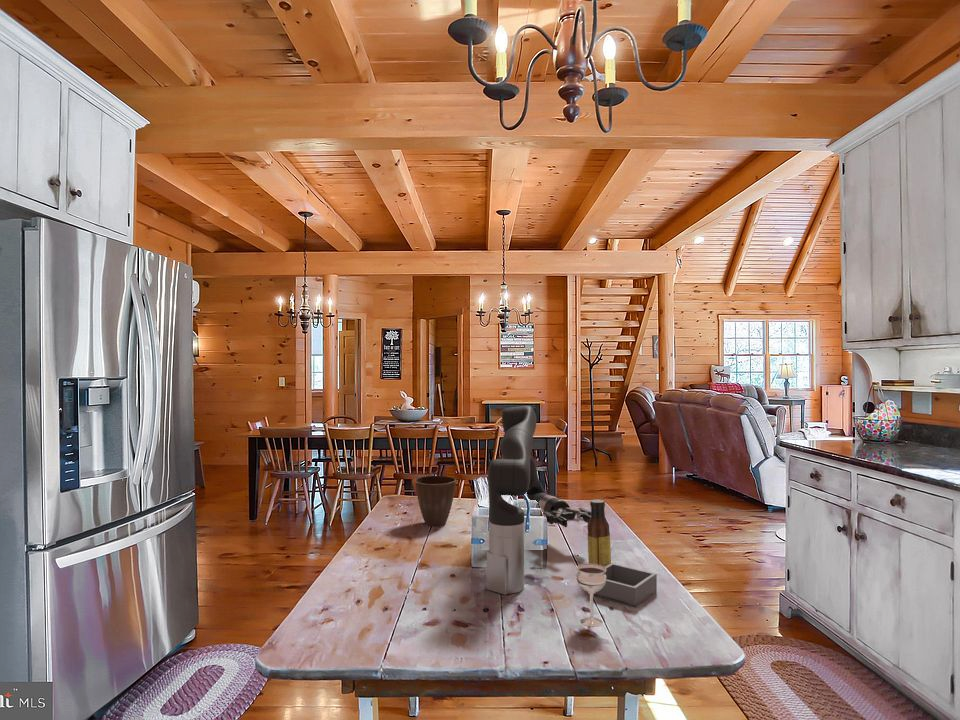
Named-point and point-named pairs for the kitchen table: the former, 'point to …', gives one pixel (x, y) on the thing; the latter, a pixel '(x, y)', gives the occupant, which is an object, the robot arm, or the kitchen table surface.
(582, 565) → the wineglass
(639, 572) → the grey shallow tray
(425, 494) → the plant pot
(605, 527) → the sauce bottle
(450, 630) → the kitchen table surface
